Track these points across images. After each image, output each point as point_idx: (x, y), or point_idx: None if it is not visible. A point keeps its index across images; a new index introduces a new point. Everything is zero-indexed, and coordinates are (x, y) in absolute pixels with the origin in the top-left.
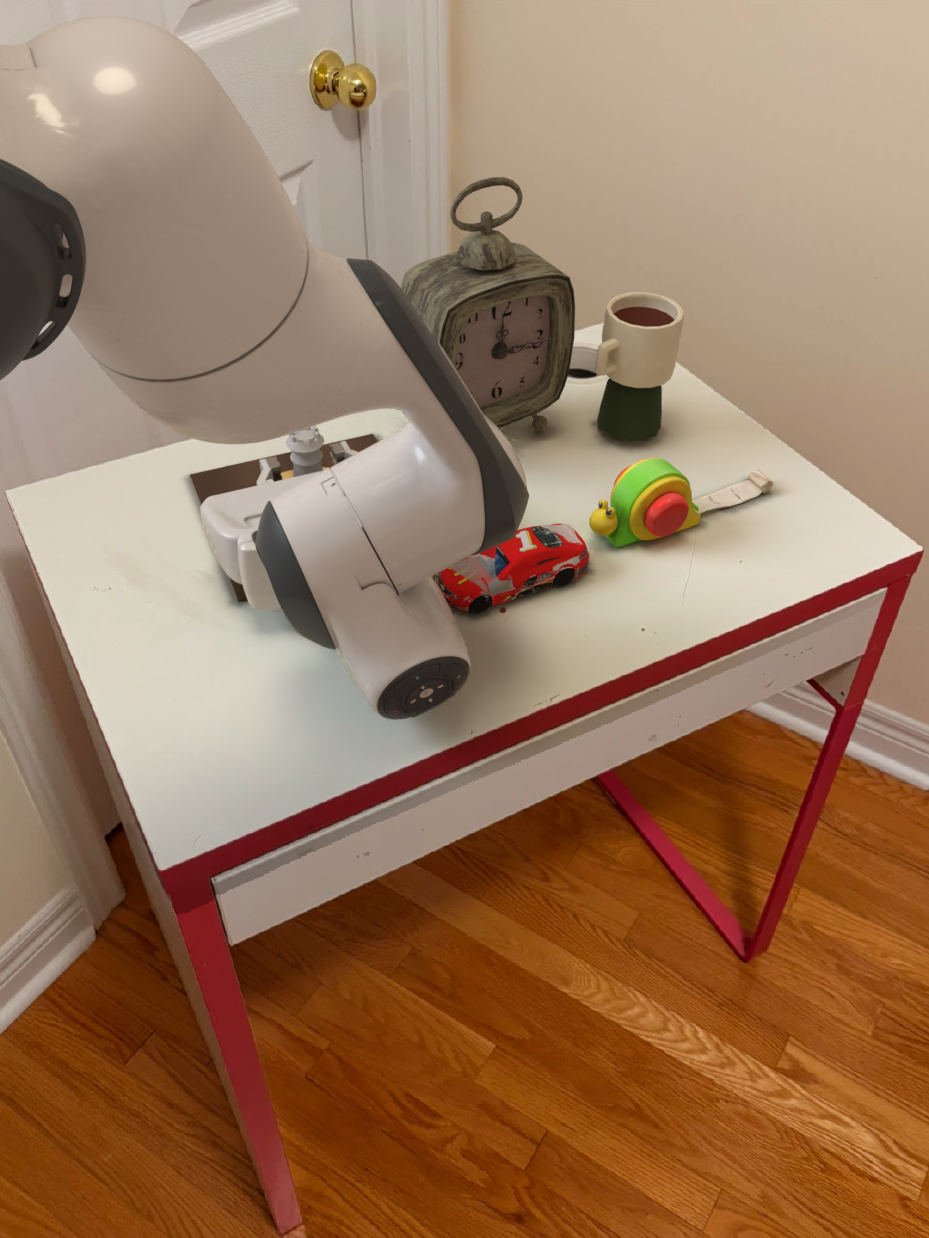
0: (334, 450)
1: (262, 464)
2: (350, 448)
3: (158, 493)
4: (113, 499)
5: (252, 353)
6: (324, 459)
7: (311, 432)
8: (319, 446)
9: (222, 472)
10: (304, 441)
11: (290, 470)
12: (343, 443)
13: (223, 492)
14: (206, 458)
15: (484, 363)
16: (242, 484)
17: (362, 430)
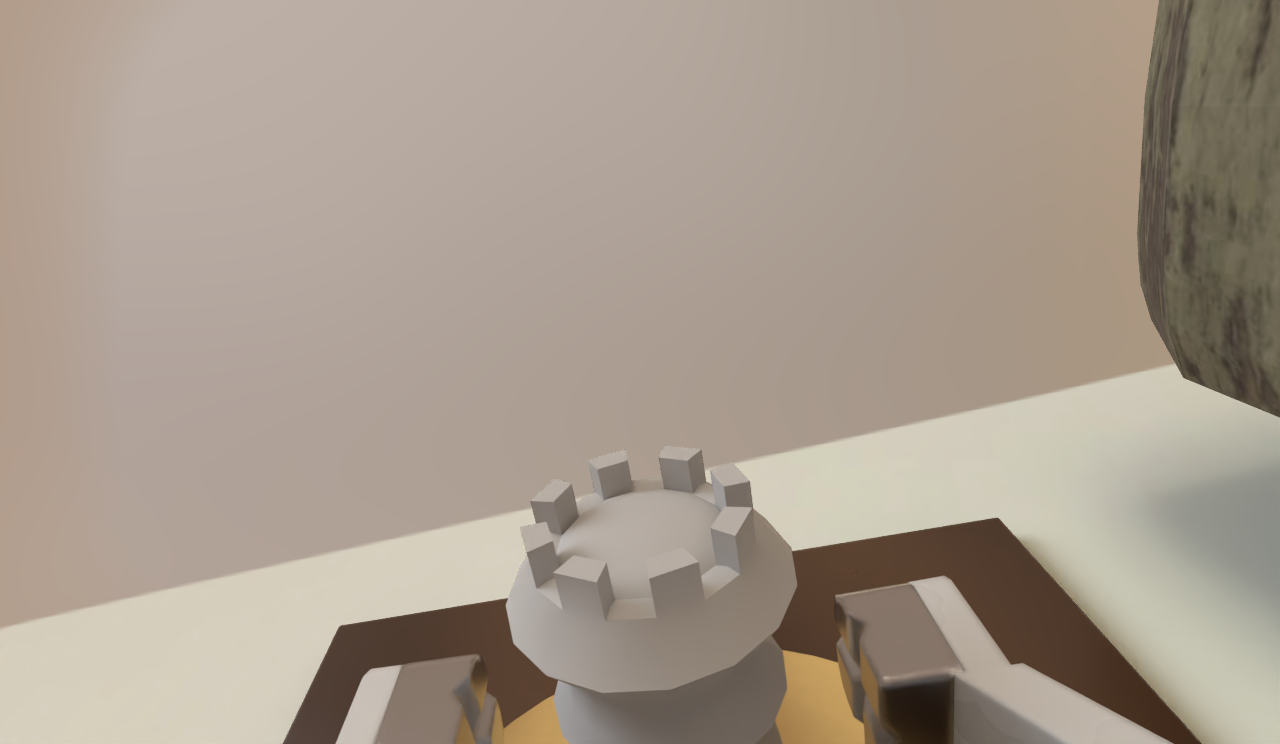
0: (874, 652)
1: (346, 719)
2: (917, 572)
3: (216, 689)
4: (85, 694)
5: None
6: (812, 613)
7: (699, 510)
8: (747, 639)
9: (436, 630)
10: (623, 585)
11: None
12: (938, 597)
13: None
14: (443, 566)
15: None
16: None
17: (949, 503)
